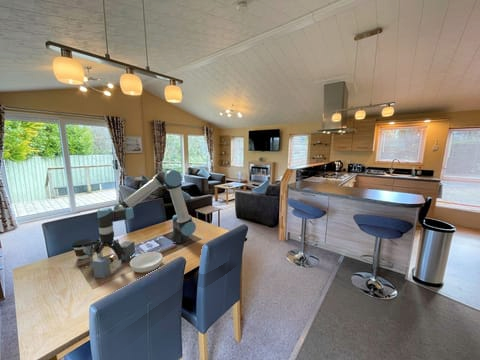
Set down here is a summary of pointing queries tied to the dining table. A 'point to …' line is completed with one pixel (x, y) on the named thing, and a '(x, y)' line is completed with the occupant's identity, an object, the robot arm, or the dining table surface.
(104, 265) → the socket
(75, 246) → the coffee cup
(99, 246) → the robot arm
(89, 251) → the wine glass
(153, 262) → the bowl
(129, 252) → the sleeve
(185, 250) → the dining table surface
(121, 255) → the tube
